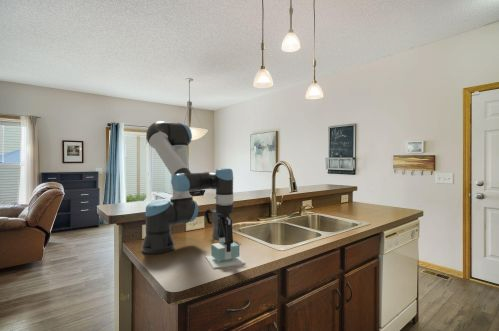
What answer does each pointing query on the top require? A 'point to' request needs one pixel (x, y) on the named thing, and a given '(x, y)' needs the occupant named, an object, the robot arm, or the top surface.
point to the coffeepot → (215, 220)
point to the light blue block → (223, 251)
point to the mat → (224, 262)
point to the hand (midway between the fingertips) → (224, 255)
